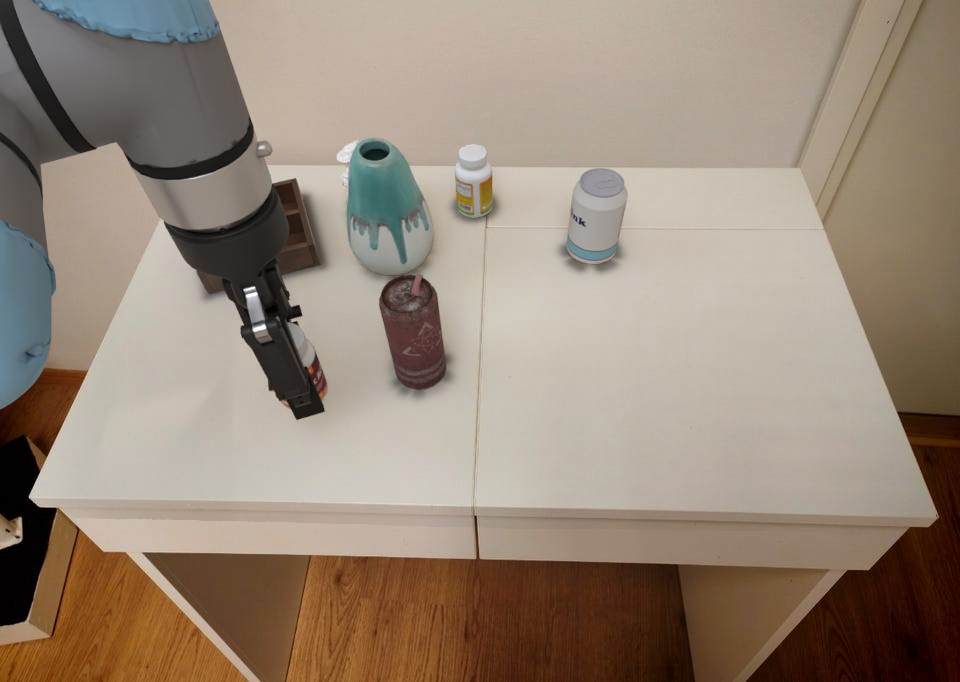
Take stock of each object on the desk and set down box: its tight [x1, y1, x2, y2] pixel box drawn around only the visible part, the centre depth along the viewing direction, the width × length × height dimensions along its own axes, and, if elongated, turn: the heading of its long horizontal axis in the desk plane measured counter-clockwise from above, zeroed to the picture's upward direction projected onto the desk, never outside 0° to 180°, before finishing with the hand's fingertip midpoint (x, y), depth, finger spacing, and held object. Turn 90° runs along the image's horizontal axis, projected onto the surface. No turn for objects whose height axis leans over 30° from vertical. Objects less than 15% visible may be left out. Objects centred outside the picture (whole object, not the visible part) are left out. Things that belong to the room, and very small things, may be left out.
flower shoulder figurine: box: [336, 140, 361, 189], centre depth 86 cm, size 9×4×12 cm, turn 1°
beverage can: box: [566, 167, 629, 265], centre depth 79 cm, size 7×7×12 cm
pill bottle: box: [280, 322, 329, 411], centre depth 55 cm, size 5×5×8 cm
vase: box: [345, 137, 435, 276], centre depth 77 cm, size 12×12×18 cm
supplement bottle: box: [454, 143, 494, 219], centre depth 86 cm, size 5×5×10 cm
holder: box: [196, 177, 321, 295], centre depth 85 cm, size 15×15×4 cm
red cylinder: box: [378, 274, 447, 390], centre depth 66 cm, size 6×6×14 cm
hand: (305, 389), depth 58 cm, fingers closed on pill bottle, 5 cm apart
